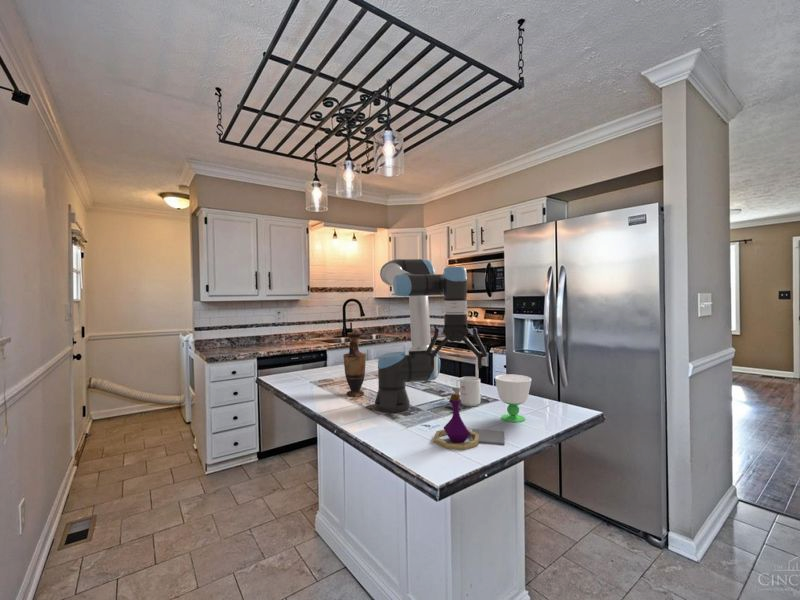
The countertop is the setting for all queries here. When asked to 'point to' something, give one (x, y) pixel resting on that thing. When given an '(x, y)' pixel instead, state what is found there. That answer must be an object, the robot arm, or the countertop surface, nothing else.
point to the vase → (354, 366)
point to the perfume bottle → (456, 421)
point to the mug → (469, 390)
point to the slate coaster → (489, 436)
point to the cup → (513, 394)
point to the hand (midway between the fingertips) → (456, 377)
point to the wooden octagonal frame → (456, 445)
